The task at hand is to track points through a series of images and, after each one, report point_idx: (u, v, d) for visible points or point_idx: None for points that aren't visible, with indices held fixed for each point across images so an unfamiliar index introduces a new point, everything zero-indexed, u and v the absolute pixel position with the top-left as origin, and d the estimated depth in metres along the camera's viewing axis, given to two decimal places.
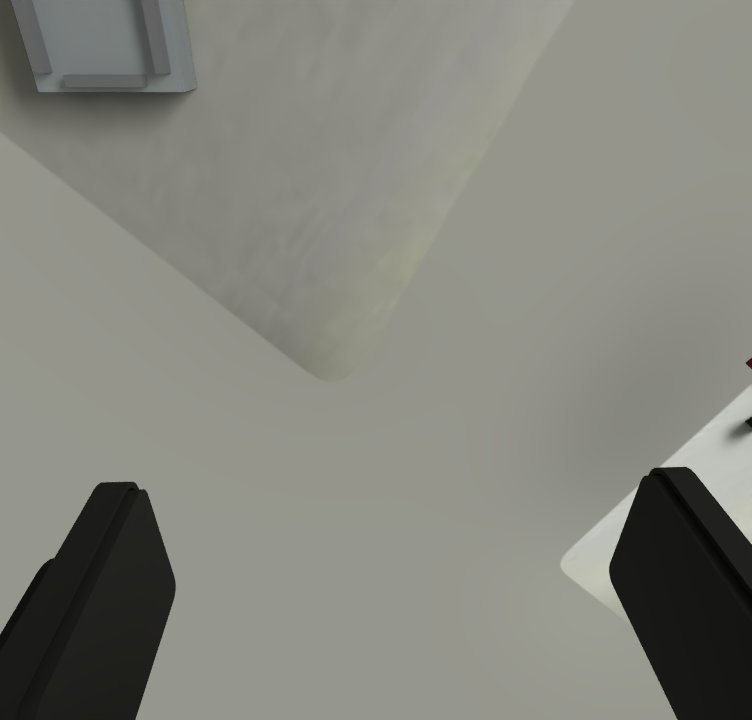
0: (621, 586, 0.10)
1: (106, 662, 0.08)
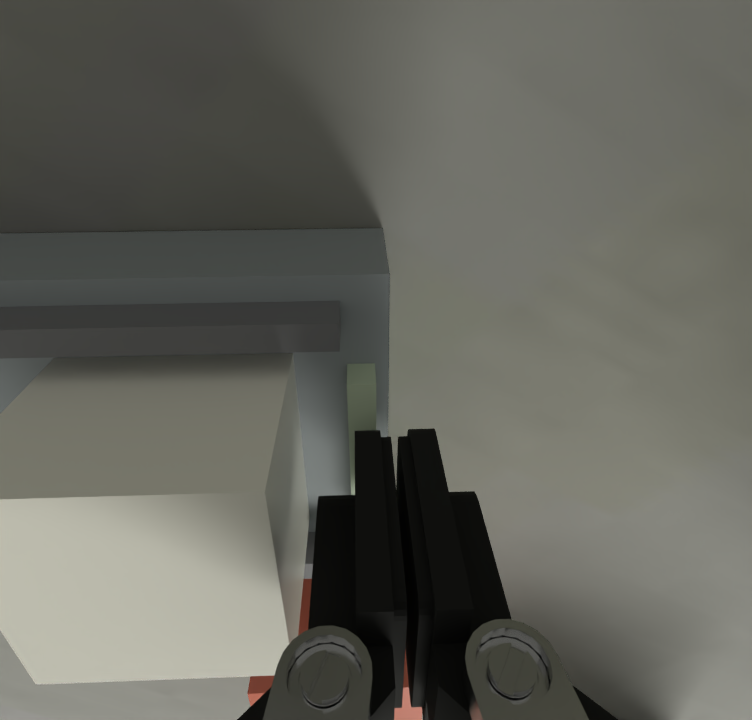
0: None
1: None
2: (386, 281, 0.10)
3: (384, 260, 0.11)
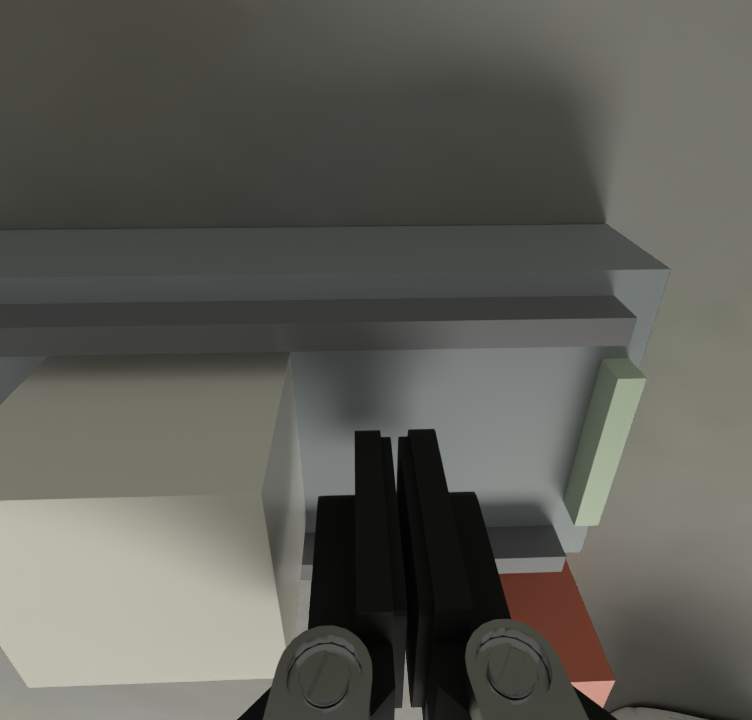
0: None
1: None
2: (664, 276, 0.10)
3: (648, 255, 0.11)
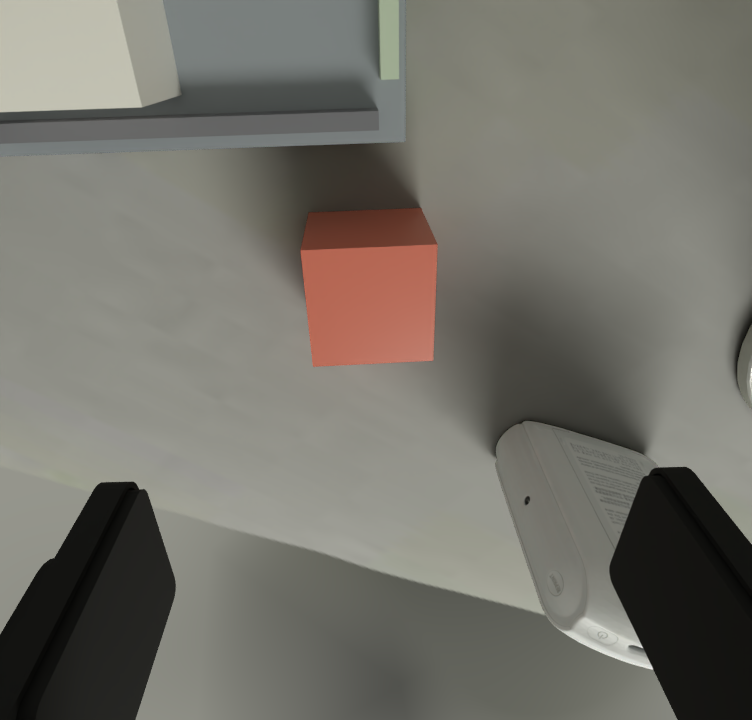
0: (621, 586, 0.10)
1: (106, 662, 0.08)
2: None
3: None
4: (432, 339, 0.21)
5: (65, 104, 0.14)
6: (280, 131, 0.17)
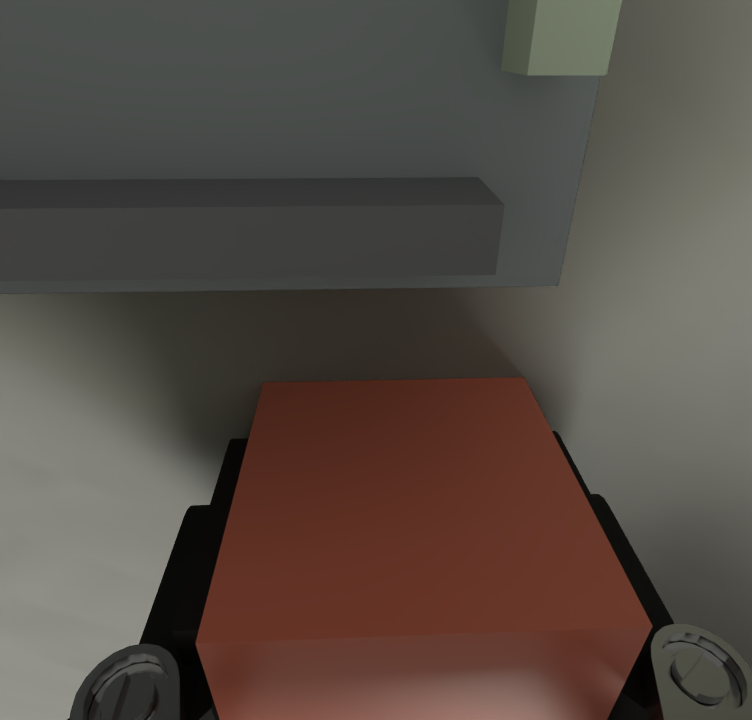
0: None
1: None
2: None
3: None
4: None
5: None
6: (100, 270, 0.04)
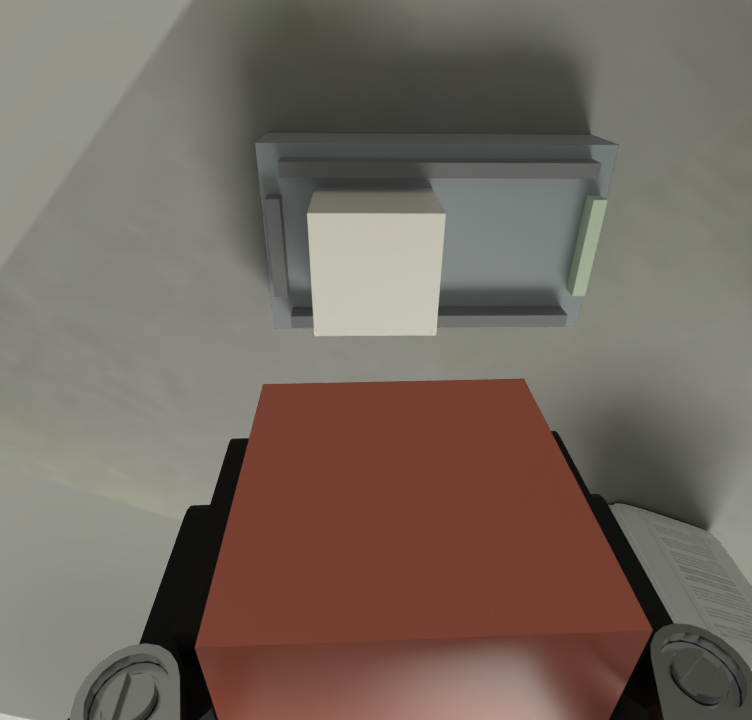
0: None
1: None
2: (616, 149, 0.21)
3: (610, 142, 0.22)
4: None
5: (387, 332, 0.21)
6: (495, 325, 0.24)
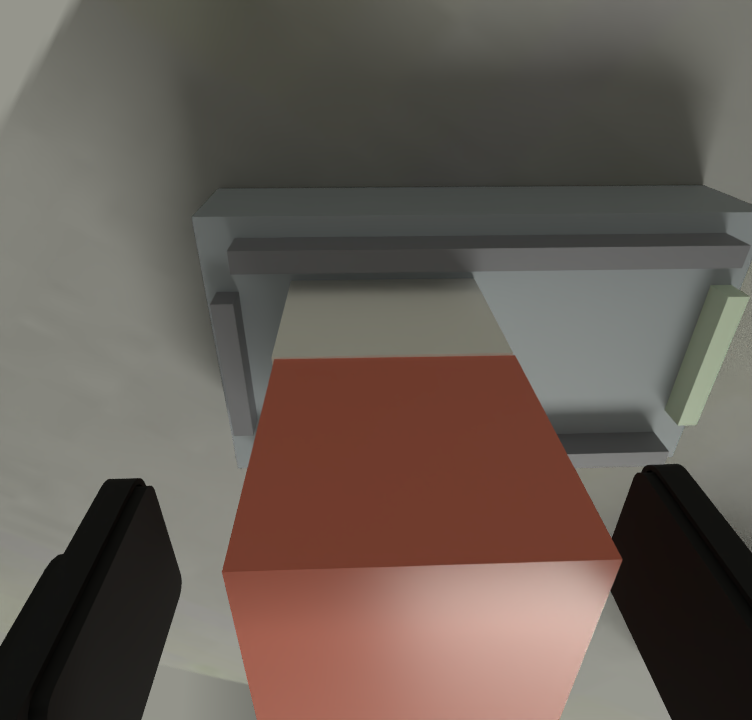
0: (614, 583, 0.10)
1: (115, 656, 0.08)
2: None
3: (749, 204, 0.14)
4: (557, 715, 0.09)
5: None
6: None
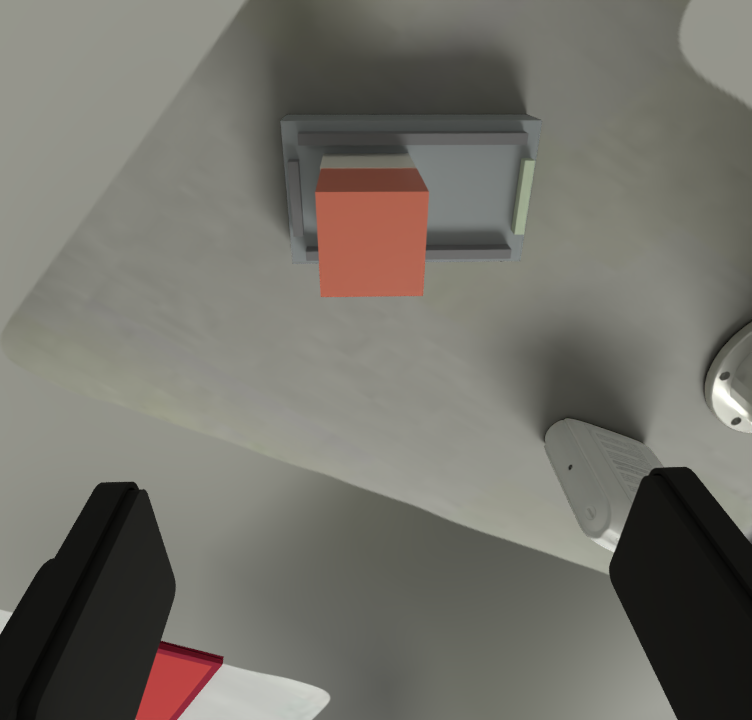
0: (621, 586, 0.10)
1: (106, 662, 0.08)
2: (540, 123, 0.30)
3: None
4: (422, 276, 0.25)
5: None
6: (458, 257, 0.33)
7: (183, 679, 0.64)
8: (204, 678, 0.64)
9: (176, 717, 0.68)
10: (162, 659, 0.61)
